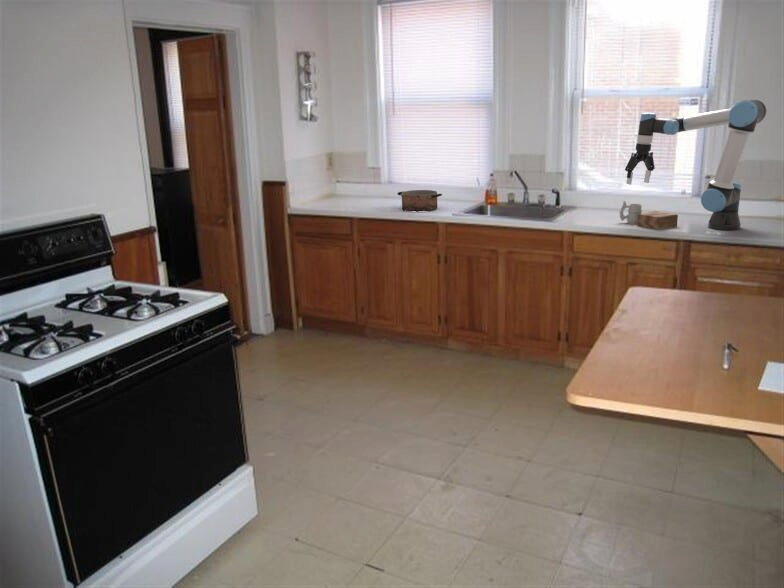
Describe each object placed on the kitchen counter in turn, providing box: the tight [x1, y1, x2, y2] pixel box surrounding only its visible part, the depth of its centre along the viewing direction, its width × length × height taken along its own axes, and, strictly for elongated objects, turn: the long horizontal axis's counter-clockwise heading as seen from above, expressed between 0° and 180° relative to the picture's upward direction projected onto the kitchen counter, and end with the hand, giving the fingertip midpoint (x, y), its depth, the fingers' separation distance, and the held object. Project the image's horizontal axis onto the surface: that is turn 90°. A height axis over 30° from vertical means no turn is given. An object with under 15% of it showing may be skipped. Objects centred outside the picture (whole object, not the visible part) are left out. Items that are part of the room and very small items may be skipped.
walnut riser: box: [636, 210, 679, 230], centre depth 373 cm, size 14×14×6 cm
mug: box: [619, 200, 643, 225], centre depth 383 cm, size 8×12×12 cm, turn 86°
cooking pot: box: [396, 189, 443, 212], centre depth 446 cm, size 30×22×11 cm
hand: (637, 183), depth 379 cm, fingers open, 13 cm apart
